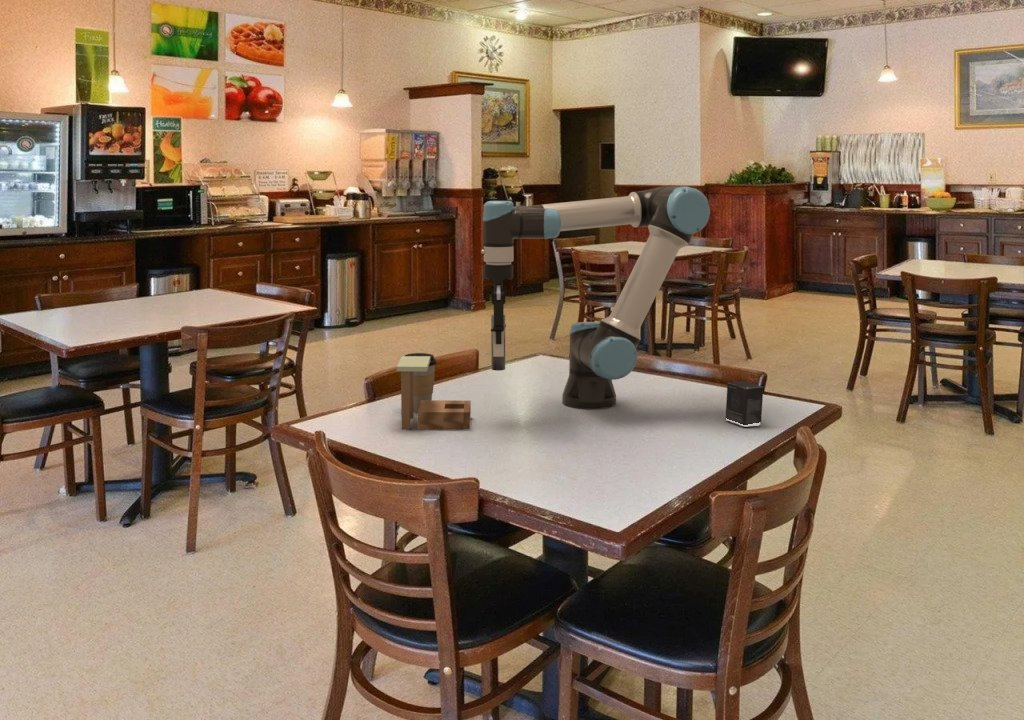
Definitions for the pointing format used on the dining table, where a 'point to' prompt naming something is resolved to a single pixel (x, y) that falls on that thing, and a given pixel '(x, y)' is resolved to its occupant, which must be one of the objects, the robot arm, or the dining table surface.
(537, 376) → the dining table surface
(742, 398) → the box
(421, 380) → the coffee cup
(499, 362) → the peg
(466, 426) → the socket
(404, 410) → the capped wooden post
